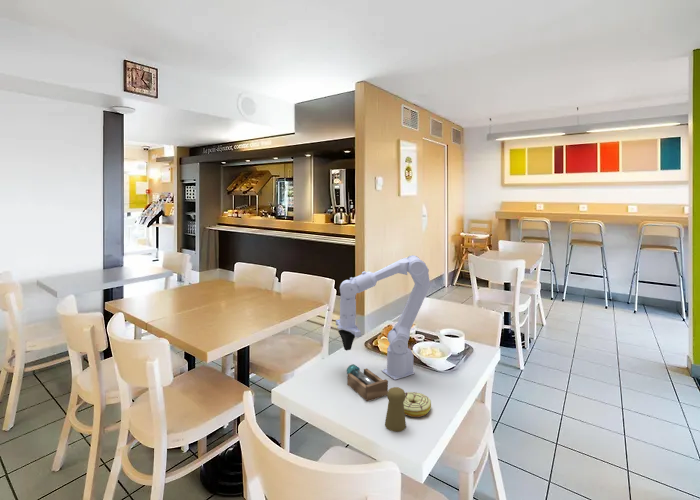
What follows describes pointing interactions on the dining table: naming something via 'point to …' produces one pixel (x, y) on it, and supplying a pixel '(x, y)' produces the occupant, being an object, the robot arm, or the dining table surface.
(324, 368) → the dining table surface
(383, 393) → the housing
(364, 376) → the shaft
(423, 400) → the decorated donut
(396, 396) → the olive brown pawn
